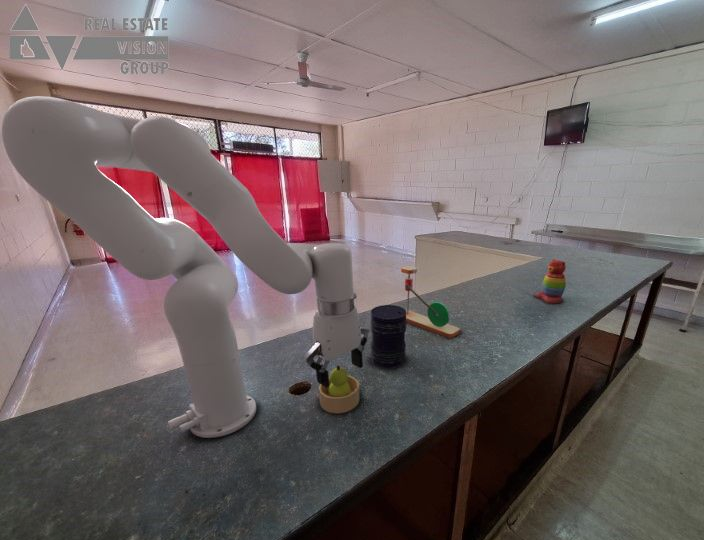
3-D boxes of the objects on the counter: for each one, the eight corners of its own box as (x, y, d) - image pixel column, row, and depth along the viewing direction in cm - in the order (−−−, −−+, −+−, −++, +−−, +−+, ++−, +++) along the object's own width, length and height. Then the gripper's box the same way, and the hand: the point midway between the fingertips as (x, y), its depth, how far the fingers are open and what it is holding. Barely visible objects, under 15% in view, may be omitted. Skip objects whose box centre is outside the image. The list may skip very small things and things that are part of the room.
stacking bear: (532, 295, 146) (539, 258, 140) (550, 294, 149) (558, 257, 143) (549, 304, 137) (558, 264, 130) (568, 302, 139) (577, 262, 133)
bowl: (337, 419, 68) (336, 404, 66) (312, 401, 73) (310, 386, 72) (367, 399, 74) (367, 385, 73) (342, 383, 80) (341, 370, 78)
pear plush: (338, 408, 70) (336, 374, 67) (325, 398, 73) (322, 366, 70) (354, 398, 74) (353, 365, 71) (341, 389, 77) (339, 357, 73)
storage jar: (367, 366, 87) (366, 317, 82) (374, 349, 96) (374, 303, 91) (402, 370, 86) (404, 320, 81) (407, 352, 95) (408, 306, 90)
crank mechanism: (394, 317, 119) (395, 267, 112) (405, 312, 124) (407, 264, 117) (450, 338, 104) (455, 282, 97) (461, 332, 109) (466, 278, 102)
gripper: (355, 290, 74) (358, 354, 80) (288, 312, 61) (298, 385, 67) (378, 297, 69) (379, 364, 75) (311, 322, 57) (319, 400, 63)
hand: (341, 374), depth 71 cm, fingers open, 9 cm apart
